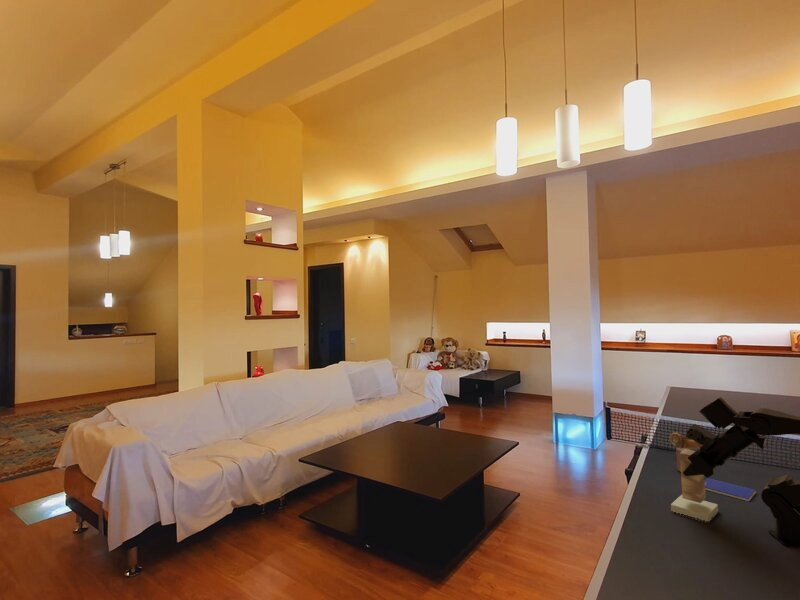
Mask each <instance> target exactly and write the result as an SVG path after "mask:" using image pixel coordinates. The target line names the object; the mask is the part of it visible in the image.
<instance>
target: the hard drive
mask: <svg viewBox="0 0 800 600" xmlns="http://www.w3.org/2000/svg"><path fill="white" fill-rule="evenodd" d="M705 491H708V492H712V493H716V494H720V495H724V496H728V497H731V498H735V499H739V500H743V501H746V502H750V501H751V499H753V497H754V496H755V495H756V489H753V488H749V487H744V486H740V485H737V484H733V483H729V482H725V481H721V480H716V479H714V478H710V477H708V478H707V477H706V479H705Z"/></svg>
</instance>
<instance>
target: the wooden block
mask: <svg viewBox="0 0 800 600" xmlns="http://www.w3.org/2000/svg"><path fill="white" fill-rule="evenodd" d="M684 449H687V450H691V449H688V448H677V447H676V449H675V451H676V452H675V453H676V469H677V471H678V472H680V473H681V465H680V452H682V451H683V450H684Z"/></svg>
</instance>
